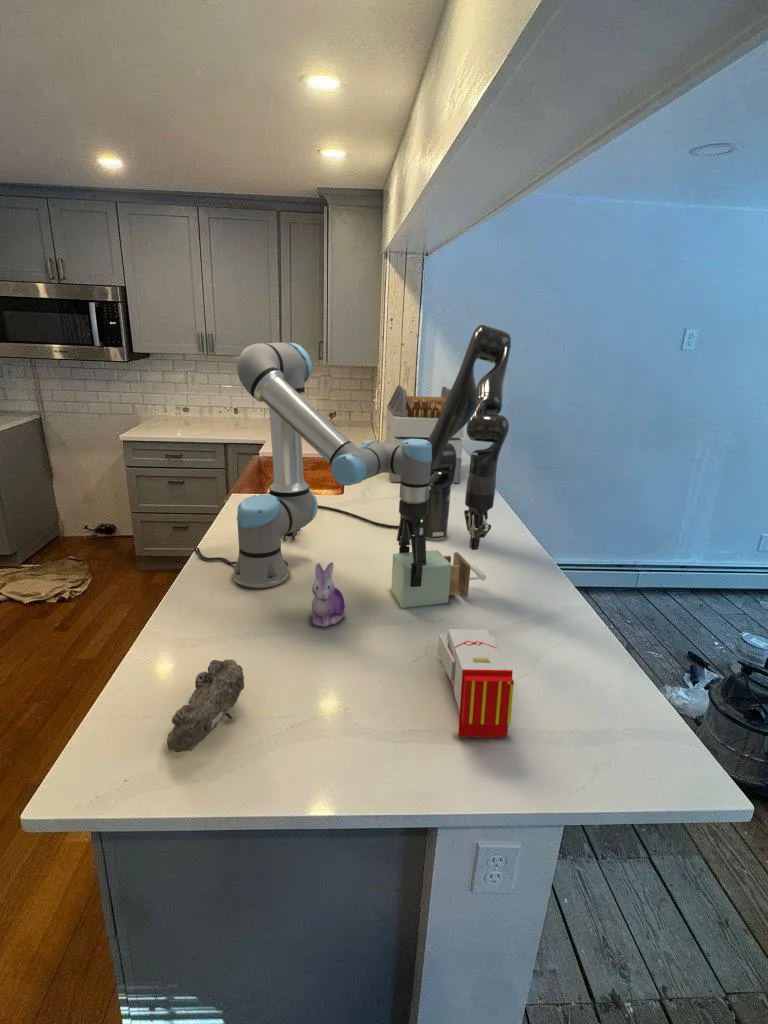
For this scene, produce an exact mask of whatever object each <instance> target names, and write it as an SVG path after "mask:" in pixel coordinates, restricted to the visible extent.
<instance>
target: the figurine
mask: <svg viewBox="0 0 768 1024" xmlns="http://www.w3.org/2000/svg"><path fill="white" fill-rule="evenodd" d="M334 567H335V564H334V562H332V561H331V562H329V563H328V564H327V566H326V568H325V569H323V567H322V565H321V563H320V562H318V563H316V564H315V569H314V571H315V579H314V582H313V584H312V586H311V587H312V588H311V591H312V594H313V595H314V596H313V599H312V601H311V611H312V615H311V618H312V624H313V625H315V626H318V627H328V626H330V625H335V624H337V623H339V622H340V621H341V620H342V619H343V618H344V613H345V607H346V606H345V605H346V603H345V599H344V595H343V594H342V592H341V590H339V589H338V588H337V587H336V586H335V583H334V581H333V579H332V575H333V573H334Z"/></svg>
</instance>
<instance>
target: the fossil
mask: <svg viewBox="0 0 768 1024" xmlns="http://www.w3.org/2000/svg"><path fill="white" fill-rule="evenodd" d="M243 670H244V669H243V667H242V665H240V664H237V662H236V661H235V660H234V659H232V658H231V659H227V658H226V659H224V660H223V661H222V660H217V659H212V660H211V661H210V663H209V665H208V666H207V671H201V672H199V673H198V674H197V675H196V676H195V680H194V684H195V685H194V687H195V689H194V690H193V693H192V694H191V697H190V698H189V700H188V704H184V705H182V706H181V707H180V709H177V710H176V711H175V713H174V715H173V716H172V718H171V723H172V724H173V727H172V730H171V731H170V732H168V734H167V738H166V741H167V742H166V745H167V749H168V750H169V751H173V752H174V753H176V754H178V753H182V752H188V751H189V752H192V751H193V750H195V748H196V747H197V746H199V744H200V743H201V742H203V741H204V740H205V739H206V738H207V737H208V736H209V735H210V734H211V733H212V732H214V730H215V729H217V727H218V726H219V724H220V722H221V721H222V720H223V719H224V718H225V716H226V717H227V719H229V720H233V717H232V715H230V714H229V710H230V709H231V708H234V706H235V704H236V703H237V702H238V699H239V697H240V695H241V693H242V691H243V690H245V689H244V688H245V675H244V671H243Z"/></svg>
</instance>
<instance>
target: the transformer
mask: <svg viewBox="0 0 768 1024" xmlns="http://www.w3.org/2000/svg"><path fill="white" fill-rule="evenodd" d="M450 391H451V388H447V386H442V387H441V392H440V393H441V394H440V396H415V395H414V396H413V395H412V396H411V395H407V394H408V393H407V390H406V389H404V388H403V387H402V385H399V384H398V385H397V386H396V388H395V390H394V392H393V394H392V395H391V398H390V400H389V402H388V404H387V405H386V413H385V414H386V415H385V423H386V428H385V438H384V441H383V442H384V443H389V444H395V445H401V446H402V444H403V441H404V440H406V439H423V440H428V438H429V437H430V435H431V433H432V431H433V429H434V427H435V425H436V423H437V421H438V419H439V417H440V414H441V412H442V410H443V407H444V404H445V402H446V400H447V397H448V395H449V393H450ZM464 429H465V426H464V427H463V428H462V429H461V430H459V431H458V432H457V433H456V434H455V435H454V436H453V437H452V438H451V439H450V440H449V442H448V443H450V444H452V445H453V446H454V448H455V450H456V457H457V459H456V468H455V475H454V481H453V484H455V483H456V484H459V483H461V472H462V461H463V460H462V453H463V442H464V441H463V440H462V439H463V438H464V431H465V430H464ZM388 476H389V477H388V478H389V480H390V482H391V483H400V482H401V475H397V474H392V473H389V475H388Z"/></svg>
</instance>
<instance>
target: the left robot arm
mask: <svg viewBox="0 0 768 1024" xmlns="http://www.w3.org/2000/svg"><path fill="white" fill-rule="evenodd" d="M312 364H313V363H312V361H311V358H310V355H309V353H308V352H307V351H306V350H305V349H304V348H303V347H302V346H301V345H300V344H297V343H295V342H285V341H280V342H267V343H265V342H263V343H262V342H261V343H260V342H258V343H254V344H251V345H248V346H247V347H246V348H244V349H243V351H242V352H241V353H240V354H239V356H238V359H237V363H236V372H237V376H238V379H239V382H240V384H241V385H242V386H243V388H244V389H245V391H247V393H248V394H249V395H250V396H251V397H252V398H253V399H255V400H256V402H260V403H261V402H262V403H263V402H264V403H265V404H266V405H267V407H268V408H269V409H268V410H269V423H270V438H271V439H270V440H271V451H272V453H271V455H272V468H273V469H272V470H273V482H272V483H271V484H270V485H269V488H268V489H269V493H268V494H267V493H263V494H262V493H261V494H258V495H255V494H254V495H251V496H248V497H246V498H244V499H243V500H242V501H240V502H239V504H238V506H237V515H236V522H237V523H236V524H237V537H238V538H237V539H238V556H237V560H236V561H230V560H228V559H227V558H225V557H219V556H216V557H206V556H205V555H203V554H202V553H201V550H200V548H199V547H195V548H194V549H193V551H194V552H197V554H198V555H199V557H200V558H201V559H202V560H205V561H224V562H225V563H226V564H228V565H235V566H234V569H233V581H234V582H235V583H236V584H237V585H238V586H241V587H244V588H247V589H255V590H256V589H257V590H258V589H259V590H261V589H268V588H273V587H276V586H280V585H281V584H282V583H284V582H286V580H287V579H288V577H289V571H288V566H289V562H287V561H286V560H285V559H284V556H283V553H282V541H281V538H283V537H284V535H286V534H288V533H290V532H293V531H295V530H297V529H302V528H304V527H306V526H307V525H308V524H310V523H312V521H314V520H315V518H316V516H317V513H318V510H319V508H318V505H319V504H318V499H317V497H316V495H314V492H313V490H312V489H310V484H309V483H307V482H306V481H305V479H304V463H303V461H304V460H303V441H302V439H303V440H304V441H305V442H306V443H307V444H308V445H310V446H311V447H312V448H313V449H314V451H316V452H317V453H318V454H319V455H320V456H321V457H322V458H323V459H324V460H326V462H327V463H328V464H329V465H330V466H331V467H330V472H331V474H332V476H333V479H334V480H335V481H336V483H338V484H339V485H341V486H346V487H348V486H354V485H358V484H360V483H362V482H363V481H365V480H367V479H370V478H372V477H375V476H377V475H380V474H383V473H386V474H390V473H392V474H397V475H401V482H399V483H400V484H399V498H400V499H399V500H398V501H399V502H398V513H399V515H400V517H399V524H398V526H399V528H397V529H398V530H397V537H396V541H397V542H398V546H399V547H398V553H407V552H410V546H411V552H412V555H413V563H411V566H412V568H411V585H410V586H411V587H419V586H421V580H422V566H424V565H426V551H427V542H426V541H427V539H425V536H426V528H425V527H422V522H421V518H422V517H425V516H426V515H427V514H428V501H427V500H428V499H429V490H431V487H430V477H431V473H432V472H431V462H432V445H431V443H430V442H429V441H427V440H423V439H406V440H404V441H403V444H402V446H401V445H395V444H389V443H384V442H385V441H379V440H369V439H368V440H364V441H362V444H361V445H360V446H359V447H358V446H357V445H356V444H354V443H353V442H352V441H351V440H350V439H349V438H348V437H346V436H345V435H344V434H343V433H342V432H341V431H340V430H339V429H337V427H336V426H335V425H333V423H331V422H330V420H328V419H327V418H326V417H325V416H324V415H323V414H322V413H320V411H318V410H317V409H316V407H314V406H313V405H312V404H311V403H310V402H308V400H306V399H305V398H304V396H303V395H304V394H305V393H306V392H305V391H306V389H305V384H306V382H308V381H309V378H310V377H311V376H312V371H313V367H312ZM196 549H197V550H196Z"/></svg>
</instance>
